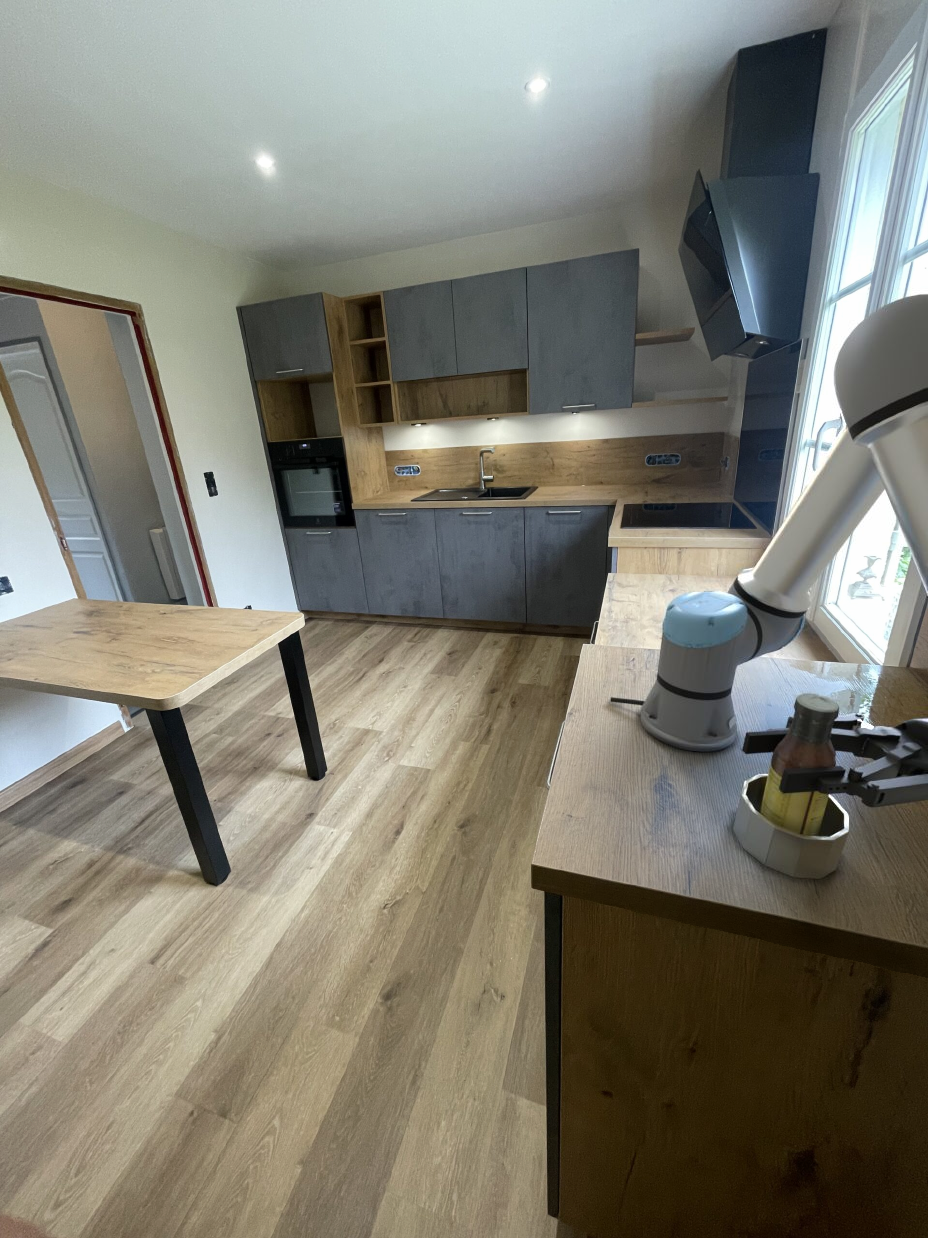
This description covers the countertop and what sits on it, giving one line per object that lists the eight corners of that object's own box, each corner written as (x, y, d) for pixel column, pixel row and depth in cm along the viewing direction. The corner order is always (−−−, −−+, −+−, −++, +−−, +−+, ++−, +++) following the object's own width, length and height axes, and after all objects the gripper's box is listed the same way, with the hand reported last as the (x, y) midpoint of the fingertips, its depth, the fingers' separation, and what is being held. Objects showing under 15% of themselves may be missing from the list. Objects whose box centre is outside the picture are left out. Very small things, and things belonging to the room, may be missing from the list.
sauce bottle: (802, 821, 64) (842, 689, 56) (823, 860, 58) (871, 720, 50) (747, 813, 65) (779, 684, 57) (762, 851, 59) (800, 713, 52)
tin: (727, 850, 61) (736, 813, 58) (740, 798, 69) (748, 763, 67) (836, 895, 55) (850, 855, 52) (836, 831, 63) (848, 795, 61)
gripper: (1029, 836, 50) (815, 852, 49) (873, 728, 68) (714, 738, 67) (1061, 778, 47) (835, 794, 46) (889, 682, 65) (723, 691, 64)
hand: (764, 761), depth 57 cm, fingers closed on sauce bottle, 6 cm apart
